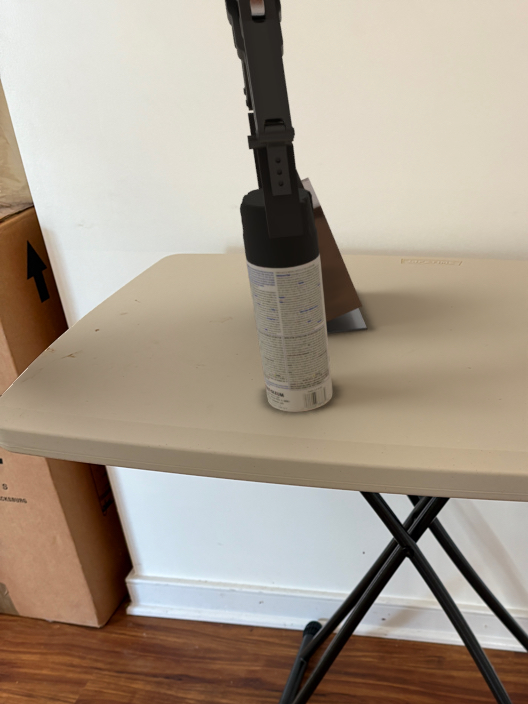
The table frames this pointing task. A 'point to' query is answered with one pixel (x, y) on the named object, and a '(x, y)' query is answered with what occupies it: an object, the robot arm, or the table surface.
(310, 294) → the spray can
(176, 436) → the table surface
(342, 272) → the brown box with handle
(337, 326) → the stand
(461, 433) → the table surface
